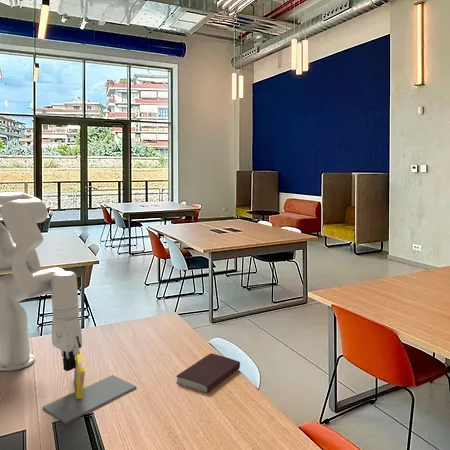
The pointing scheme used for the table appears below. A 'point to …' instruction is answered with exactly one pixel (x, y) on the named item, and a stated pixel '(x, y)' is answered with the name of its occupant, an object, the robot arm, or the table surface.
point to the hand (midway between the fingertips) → (69, 368)
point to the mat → (89, 398)
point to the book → (208, 372)
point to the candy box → (79, 376)
